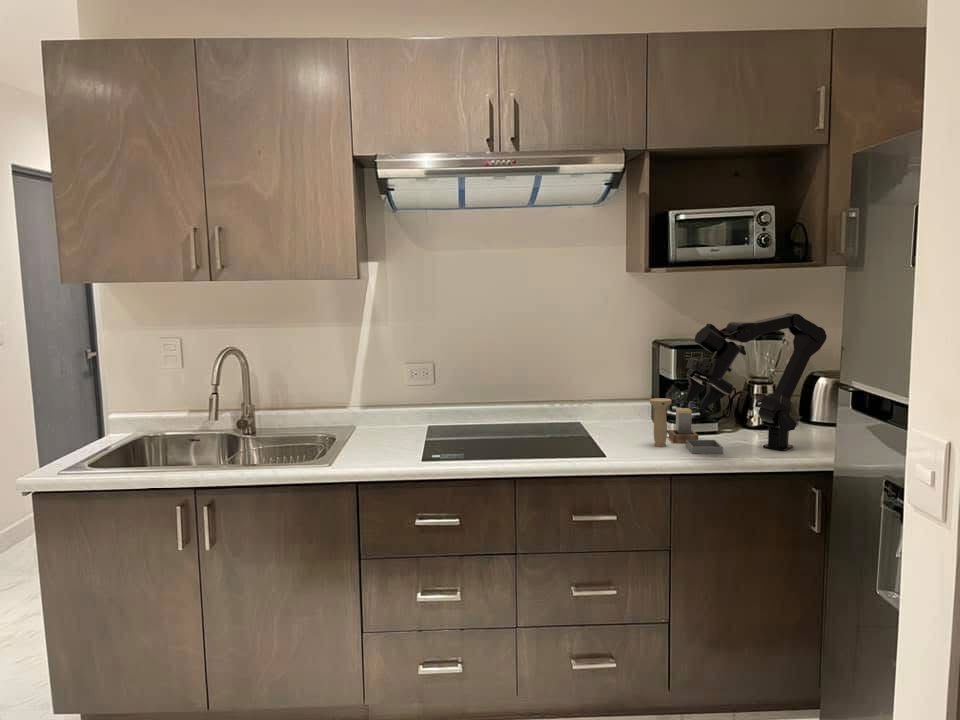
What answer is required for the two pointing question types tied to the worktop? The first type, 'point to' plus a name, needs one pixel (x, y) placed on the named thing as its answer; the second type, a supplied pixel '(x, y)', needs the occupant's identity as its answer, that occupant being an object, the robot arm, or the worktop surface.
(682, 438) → the holder
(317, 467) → the worktop surface
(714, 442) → the tray
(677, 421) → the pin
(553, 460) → the worktop surface
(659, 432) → the handle
